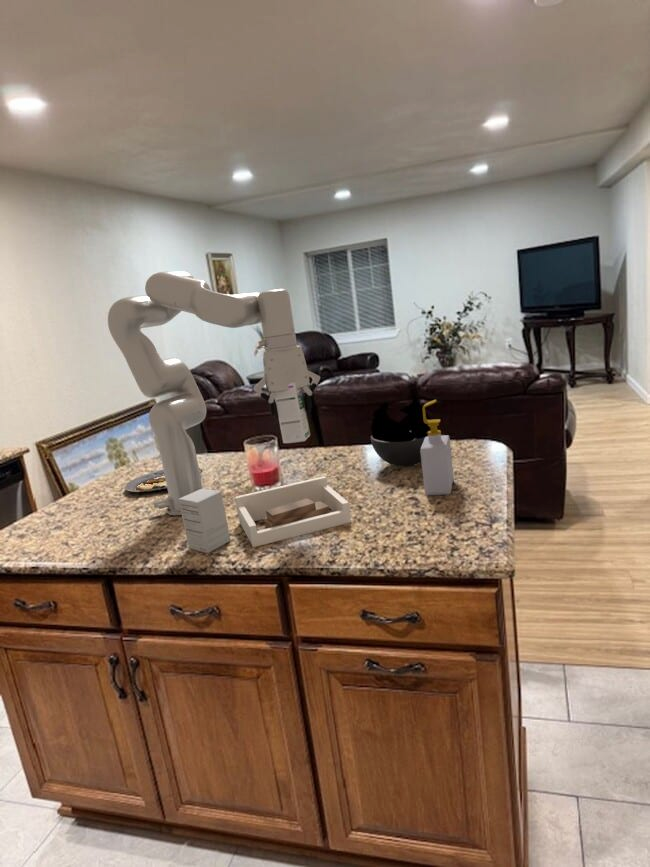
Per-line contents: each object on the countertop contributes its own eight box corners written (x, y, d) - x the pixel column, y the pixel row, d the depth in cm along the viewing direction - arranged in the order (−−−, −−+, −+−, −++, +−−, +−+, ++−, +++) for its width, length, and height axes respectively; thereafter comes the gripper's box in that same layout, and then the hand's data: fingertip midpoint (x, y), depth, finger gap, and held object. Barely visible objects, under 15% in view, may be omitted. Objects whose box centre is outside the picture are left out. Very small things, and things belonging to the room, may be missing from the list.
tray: (253, 547, 137) (248, 518, 135) (239, 522, 154) (235, 496, 152) (351, 522, 143) (347, 494, 142) (328, 501, 160) (324, 476, 158)
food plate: (209, 468, 211) (207, 458, 210) (194, 490, 188) (191, 479, 187) (140, 479, 212) (138, 469, 211) (117, 502, 189) (114, 491, 189)
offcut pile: (265, 542, 139) (261, 519, 138) (257, 535, 144) (253, 513, 143) (334, 520, 146) (330, 498, 145) (324, 515, 151) (321, 493, 150)
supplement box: (211, 536, 147) (202, 487, 144) (231, 541, 142) (222, 490, 139) (187, 548, 141) (177, 498, 139) (207, 553, 137) (197, 501, 134)
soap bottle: (451, 495, 152) (442, 404, 146) (424, 496, 153) (415, 406, 148) (453, 479, 163) (445, 394, 158) (429, 480, 165) (420, 397, 159)
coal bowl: (452, 466, 174) (446, 403, 170) (388, 480, 169) (380, 416, 165) (423, 451, 193) (417, 394, 189) (365, 464, 188) (357, 406, 184)
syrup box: (305, 441, 144) (295, 381, 142) (282, 444, 146) (271, 385, 143) (310, 436, 150) (301, 378, 147) (288, 438, 151) (278, 382, 148)
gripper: (247, 349, 137) (260, 424, 141) (319, 337, 141) (330, 410, 145) (242, 348, 144) (254, 419, 148) (311, 336, 148) (321, 406, 152)
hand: (292, 414), depth 147 cm, fingers closed on syrup box, 7 cm apart
